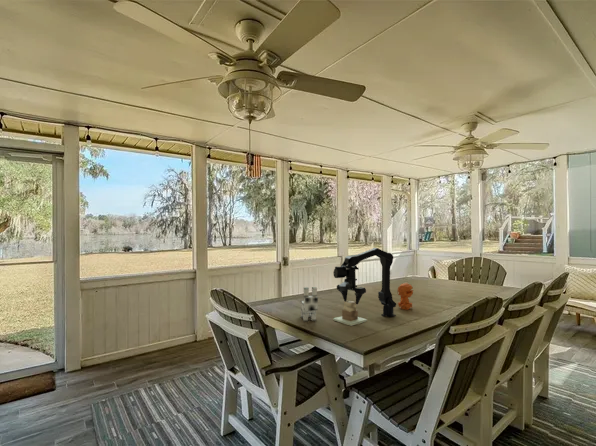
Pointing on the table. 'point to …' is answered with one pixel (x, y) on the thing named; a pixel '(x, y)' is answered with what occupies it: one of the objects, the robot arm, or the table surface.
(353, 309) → the maple block
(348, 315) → the walnut block
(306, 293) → the toy rabbit
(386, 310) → the robot arm
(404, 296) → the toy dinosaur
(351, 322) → the plate
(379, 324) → the table surface
